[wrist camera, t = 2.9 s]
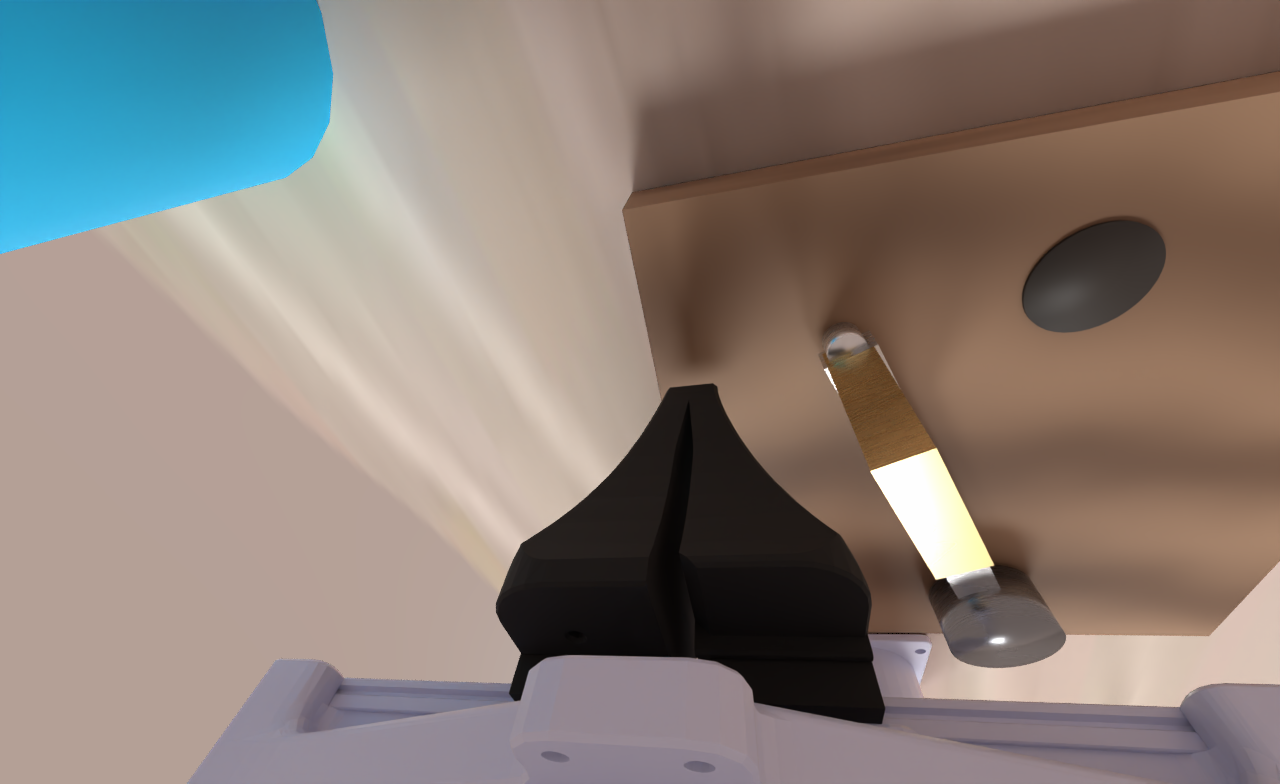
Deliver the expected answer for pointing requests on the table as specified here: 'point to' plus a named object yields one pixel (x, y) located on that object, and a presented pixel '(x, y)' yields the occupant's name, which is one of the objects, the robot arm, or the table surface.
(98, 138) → the mug
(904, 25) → the table surface
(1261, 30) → the table surface
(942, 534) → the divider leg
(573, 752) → the robot arm
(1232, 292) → the hole plate
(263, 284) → the table surface
